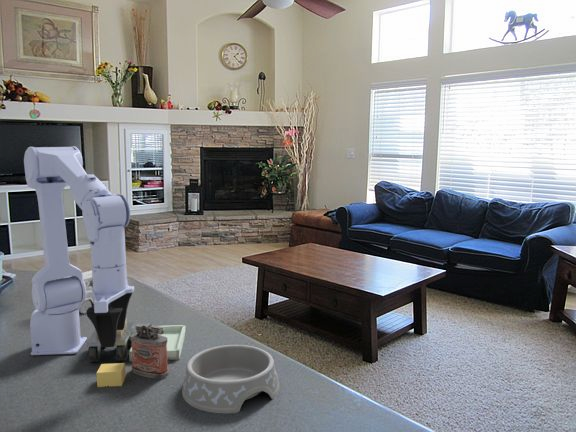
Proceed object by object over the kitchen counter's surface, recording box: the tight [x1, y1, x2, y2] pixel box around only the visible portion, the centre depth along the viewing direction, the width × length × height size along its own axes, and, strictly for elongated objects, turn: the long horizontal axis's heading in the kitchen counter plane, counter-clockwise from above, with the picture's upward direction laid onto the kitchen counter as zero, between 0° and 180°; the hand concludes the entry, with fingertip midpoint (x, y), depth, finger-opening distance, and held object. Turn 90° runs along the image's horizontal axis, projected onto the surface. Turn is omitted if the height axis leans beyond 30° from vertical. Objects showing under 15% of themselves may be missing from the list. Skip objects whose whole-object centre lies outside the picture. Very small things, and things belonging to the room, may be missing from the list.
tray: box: [128, 324, 187, 362], centre depth 111 cm, size 10×14×2 cm
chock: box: [96, 362, 127, 388], centre depth 95 cm, size 4×4×3 cm
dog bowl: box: [181, 344, 281, 414], centre depth 93 cm, size 17×18×5 cm
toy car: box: [59, 270, 130, 315], centre depth 137 cm, size 10×20×10 cm, turn 147°
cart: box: [86, 316, 136, 363], centre depth 107 cm, size 8×11×7 cm
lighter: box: [130, 322, 170, 380], centre depth 98 cm, size 8×3×10 cm, turn 68°
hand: (113, 337), depth 90 cm, fingers open, 7 cm apart
